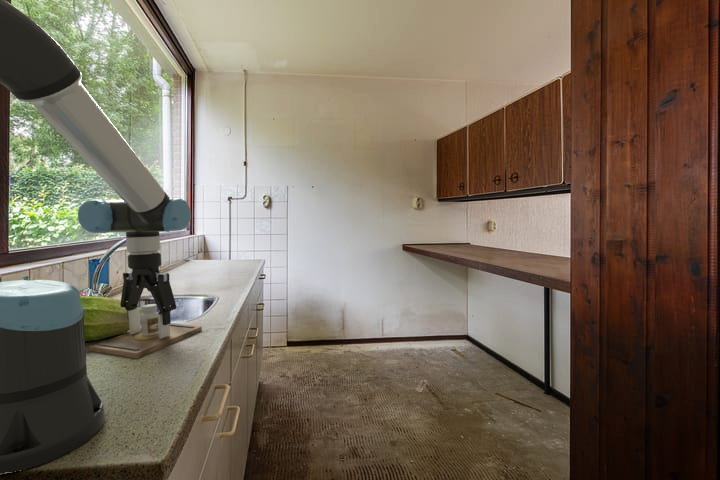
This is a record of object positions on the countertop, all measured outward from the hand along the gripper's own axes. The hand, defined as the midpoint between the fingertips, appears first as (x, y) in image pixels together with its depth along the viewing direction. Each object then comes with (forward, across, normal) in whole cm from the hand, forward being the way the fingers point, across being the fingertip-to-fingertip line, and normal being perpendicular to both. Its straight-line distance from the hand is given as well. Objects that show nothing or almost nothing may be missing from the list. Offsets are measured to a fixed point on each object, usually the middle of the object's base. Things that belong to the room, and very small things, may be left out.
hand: (149, 334), depth 92 cm
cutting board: (+1, 0, 0) cm, 1 cm away
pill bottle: (0, 0, 0) cm, 0 cm away
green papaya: (+2, +15, +2) cm, 15 cm away
